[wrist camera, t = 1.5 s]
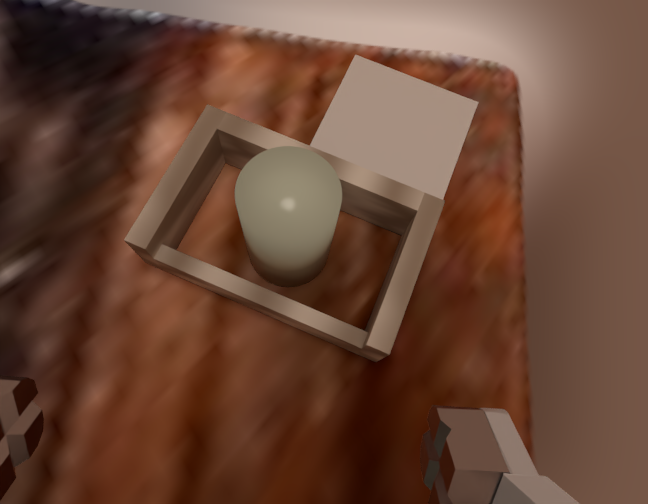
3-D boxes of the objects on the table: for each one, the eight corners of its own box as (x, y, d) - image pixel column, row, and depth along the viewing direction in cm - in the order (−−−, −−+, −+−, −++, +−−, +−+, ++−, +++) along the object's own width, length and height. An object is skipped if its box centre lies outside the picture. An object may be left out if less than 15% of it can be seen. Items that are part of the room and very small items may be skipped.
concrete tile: (303, 164, 40) (303, 158, 39) (354, 62, 43) (355, 54, 43) (434, 218, 39) (437, 213, 38) (474, 109, 43) (478, 102, 42)
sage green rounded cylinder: (234, 267, 36) (215, 217, 27) (269, 200, 38) (263, 131, 29) (309, 299, 36) (317, 260, 26) (340, 229, 38) (357, 169, 28)
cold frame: (145, 262, 36) (123, 240, 31) (217, 140, 40) (207, 104, 35) (375, 362, 35) (389, 354, 30) (426, 226, 38) (445, 200, 34)
